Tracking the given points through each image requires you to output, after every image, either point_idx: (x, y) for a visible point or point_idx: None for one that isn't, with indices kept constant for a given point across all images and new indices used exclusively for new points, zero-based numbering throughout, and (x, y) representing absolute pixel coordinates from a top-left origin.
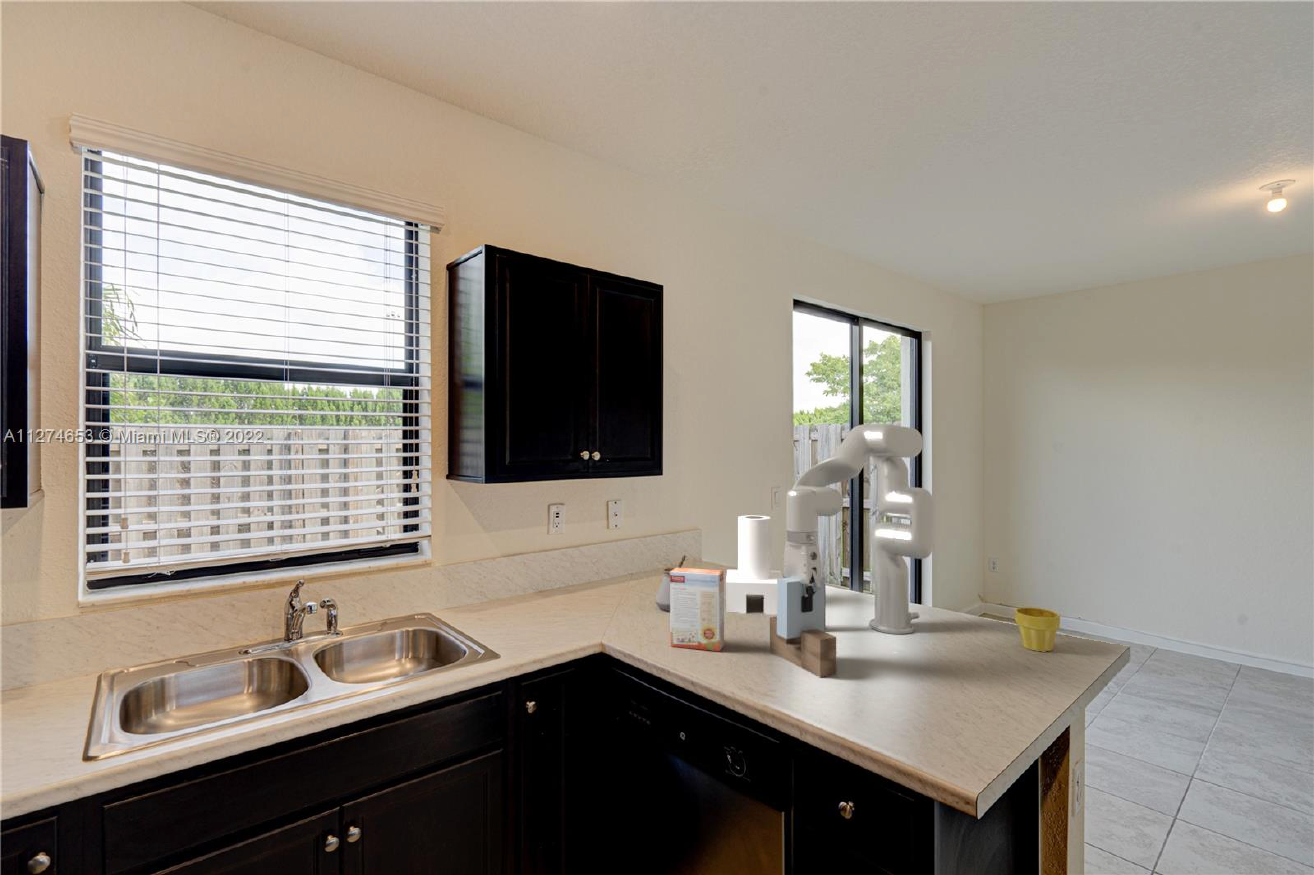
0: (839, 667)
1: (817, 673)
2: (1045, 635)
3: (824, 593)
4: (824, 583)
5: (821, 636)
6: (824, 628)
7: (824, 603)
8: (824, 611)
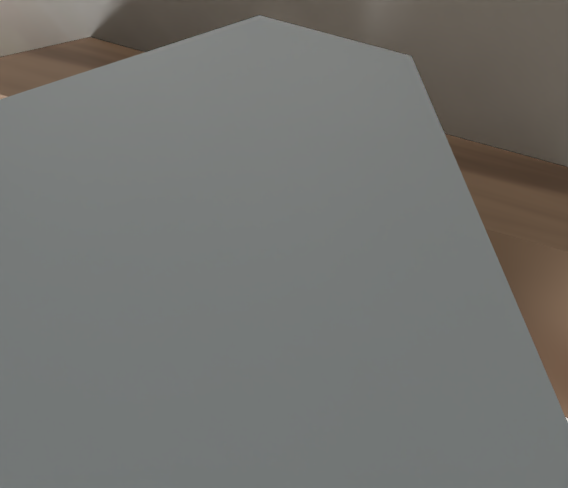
0: (535, 51)
1: None
2: None
3: (474, 214)
4: (562, 437)
5: (552, 353)
6: (412, 60)
7: (443, 137)
8: (430, 103)
